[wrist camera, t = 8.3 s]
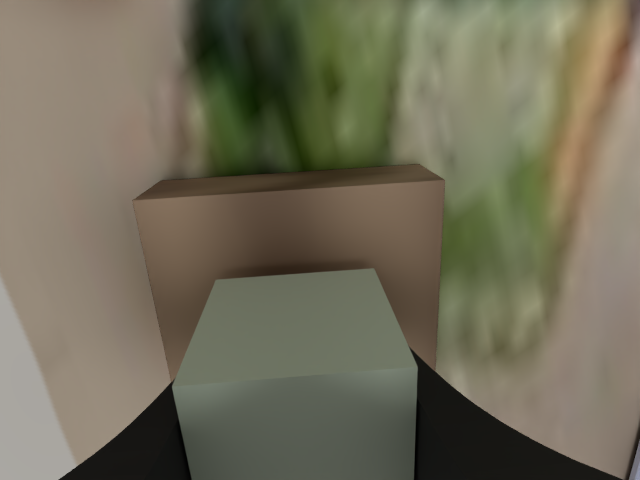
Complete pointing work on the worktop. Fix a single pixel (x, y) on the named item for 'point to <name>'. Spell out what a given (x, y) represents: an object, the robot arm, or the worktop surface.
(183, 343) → the walnut base block
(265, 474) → the sage green block
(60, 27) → the worktop surface
